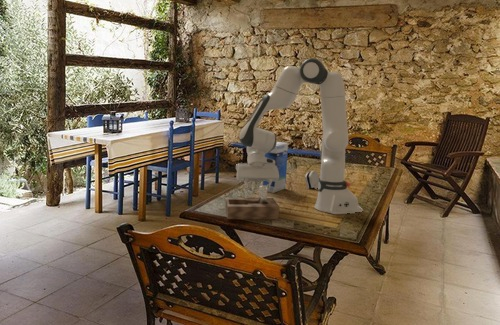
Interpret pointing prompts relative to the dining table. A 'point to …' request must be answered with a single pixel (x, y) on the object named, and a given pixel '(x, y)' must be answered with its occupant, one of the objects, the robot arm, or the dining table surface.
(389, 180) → the dining table surface
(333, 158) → the robot arm
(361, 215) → the dining table surface
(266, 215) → the wooden compartment tray
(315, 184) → the hinge
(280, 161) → the string lights box
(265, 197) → the steel peg
